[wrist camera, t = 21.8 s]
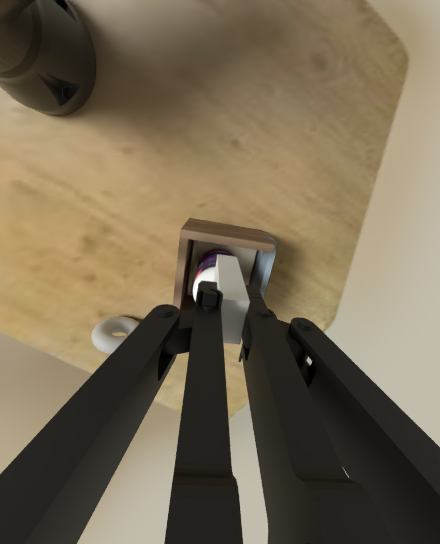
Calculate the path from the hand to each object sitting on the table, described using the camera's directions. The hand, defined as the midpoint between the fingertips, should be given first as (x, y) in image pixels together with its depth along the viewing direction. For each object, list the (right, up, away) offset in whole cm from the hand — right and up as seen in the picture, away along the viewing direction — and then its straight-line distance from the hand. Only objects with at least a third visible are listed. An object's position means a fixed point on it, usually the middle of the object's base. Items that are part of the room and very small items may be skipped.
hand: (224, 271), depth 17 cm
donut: (-21, -11, +33) cm, 41 cm away
